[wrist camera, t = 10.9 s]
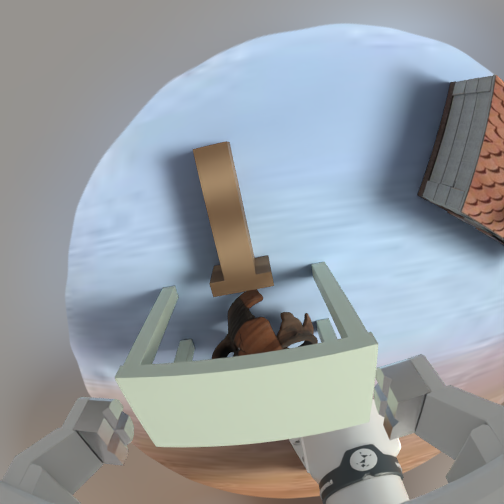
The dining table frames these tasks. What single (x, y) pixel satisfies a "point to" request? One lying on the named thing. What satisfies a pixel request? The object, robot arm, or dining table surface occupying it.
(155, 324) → the footstool
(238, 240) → the push stick
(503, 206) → the model house
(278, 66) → the dining table surface
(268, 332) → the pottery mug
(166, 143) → the dining table surface
